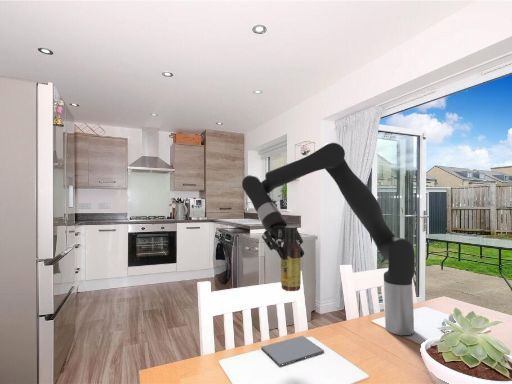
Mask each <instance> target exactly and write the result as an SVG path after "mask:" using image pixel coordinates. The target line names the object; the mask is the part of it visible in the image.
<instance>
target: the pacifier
mask: <svg viewBox="0 0 512 384" xmlns="http://www.w3.org/2000/svg"><path fill="white" fill-rule="evenodd" d="M452 314H453V313H451V314H449V315H448V322H449V321H451V322H453V323H456V324H457V322H456V321H455V320H454V318H453V315H452ZM443 326H446V324H445V322H444V321H442V322H441V327H443ZM441 332H442V333H444V334H446V333H447V332H448V331H447V330H445V331H441Z"/></svg>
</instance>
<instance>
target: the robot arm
mask: <svg viewBox="0 0 512 384" xmlns="http://www.w3.org/2000/svg"><path fill="white" fill-rule="evenodd" d="M345 157H346V152H345V149H344V147H343V146H342V145H341V144H339V143H337V142H327V143H325V144H323V145H322V146H321V147H320V148H318V149H317V150H315V151H313V152H312V153H310V154H309V155H307V156H304V157H302V158H300V159H297V160H294V161H291V162H289V163H286V164H283V165H280V166H278V167H275V168H274V169H271V170H268V171H267V172H266V173H265V179H263V180H262V181H261V180H260V179H259V177H258V176H257V175H254V174H247V175H246V176H244V178H243V179H242V182H241V186H242V190H243V191H244V193H245V194H246V195H247V197H248V199H249V200H250V202H251V204H252V205H253V208H254V210H255V212H256V213H257V215H258V216H257V217H258V218H259V220H260V222H261V224H262V226H263V228H264V232H263V234H262V236H261V238H262V240H263V241H264V243H265V244H266V246H267V247H268V249H269V250H271V251H272V250H275V252H276V253H277V254H278V256H279V258H280V260H281V259H282V260H286V258H287V254H286V252H285V250H284V248H283V246H282V244H283V243H284V241H285V231H284V228H285V227H286V226H288V225H287V221H286V220H285V217H284V216H283V214H282V212H281V211H280V210H279V207H277V206H276V204H275V203H274V201H273V200H272V197H270V195H269V194H270V193H271V192H272V191H274V190H275V189H276V188H279V187H282V186H284V185H287V184H289V183H292V182H294V181H295V180H298V179H300V178H302V177H304V176H307V175H308V174H312V173H315V172H317V171H321V170H322V171H323V170H325V171H326V172H327V173H328V174H329V175H330V176H331V178H332V179H333V181H334V182H335V184H336V186H337V187H338V189H339V191H340V192H341V194H342V196H343V198H344V199H345V201H346V203H347V204H348V207H350V209H351V210H352V211H353V213H354V215H355V216H356V217H357V219H358V220H359V221H360V223H361V224H362V226H363V227H364V228H365V230H366V231H367V232H368V233H369V235H370V237H371V239H372V240H373V242H374V245H375V246H376V248H377V249H378V252H379V253H380V255H381V256H382V257H383V258H384V259H385V260H386V261H388V268H387V271H385V272H383V294H384V295H383V296H384V299H383V300H384V320H385V321H384V324H385V325H384V326H385V329H386V331H387V332H389V333H391V334H393V335H397V336H402V335H410V336H412V335H411V334H413V333H414V334H415V321H414V319H415V317H414V291H413V279H414V276H415V260H416V259H415V258H416V257H415V256H416V253H415V248H414V246H413V244H412V242H411V241H410V240H407V239H405V238H402V237H397V236H396V235H395V234H394V233H393V232H392V230H391V229H390V228H389V227H388V225H387V223H386V221H385V219H384V217H383V212H382V209H381V206H380V203H379V202H378V200H377V198H376V197H375V196H374V194H373V192H372V191H371V189H370V188H368V186H367V184H365V182H363V181H362V180H361V179H360V177H358V176H357V175H356V174H355V173H354V172H353V170H352V169H351V167H350V166H349V164H348V163H347V161H346V159H345ZM297 243H298V244H299V247H300V257H301V259H302V258H303V257H304V256H305V251H304V249H303V248H302V246H301V245H302V244H303V243H304V240H303V238H302V236H301V234H300V232H299V231H298V229H297ZM414 334H413V335H414Z"/></svg>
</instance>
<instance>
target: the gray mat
mask: <svg viewBox="0 0 512 384" xmlns="http://www.w3.org/2000/svg"><path fill="white" fill-rule="evenodd" d="M261 350H264V351H265V352H266V353H265V354H267V355H268V354H269V355H270V356H271V357H272V358H273V359H274V360H275V361H276V362H277V363H278V364H279V365H282V364H286V363H289V362H292V363H294V362H293V361H295V362H297V361H296V360H298V361H300V360H299V359H301V360H303V359H302V358H305V357H308V358H310V357H309V356H311V357H314V356H317V355H320V354H322V353H325V349H322V348H321V347H320V346H319V345H318V344H316V343H314V342H313V341H311V340H310V339H308V338H307V337H306V336H304V335H300V336H296V337H292V338H289V339H285V340H281V341H277V342H273V343H270V344H266V345H262V346H261ZM264 351H263V352H264ZM319 353H320V354H319ZM316 354H317V355H316ZM269 355H268V356H269ZM313 355H314V356H313ZM270 356H269V357H270ZM271 357H270V358H271ZM272 358H271V359H272ZM273 359H272V360H273ZM305 359H306V358H305ZM274 360H273V361H274ZM275 361H274V362H275ZM276 362H275V363H276ZM277 363H276V364H277ZM278 364H277V365H278ZM289 364H290V363H289ZM279 365H278V366H279ZM286 365H287V364H286Z"/></svg>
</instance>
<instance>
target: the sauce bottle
mask: <svg viewBox="0 0 512 384" xmlns="http://www.w3.org/2000/svg"><path fill="white" fill-rule="evenodd" d="M297 230H298V226H293V225H289V226H288V225H287V226H286V227H285V228H284V231H285V241H284V242H283V243H282V247H283V248H284V250H285V252H286V254H287V258H286V260H282V259H281V258H280V284H281V289H282V290H284V291H285V292H298V291H300V290H301V284H302V281H301V276H302V271H301V270H302V267H301V266H302V265H301V261H302V260H301V259H302V258H301V257H300V247H299V244H298V243H297Z"/></svg>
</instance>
